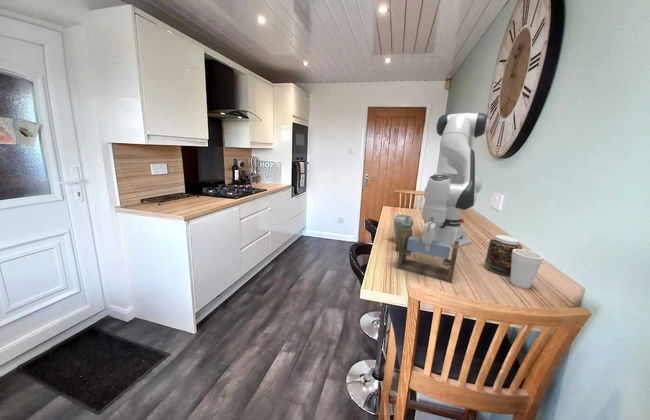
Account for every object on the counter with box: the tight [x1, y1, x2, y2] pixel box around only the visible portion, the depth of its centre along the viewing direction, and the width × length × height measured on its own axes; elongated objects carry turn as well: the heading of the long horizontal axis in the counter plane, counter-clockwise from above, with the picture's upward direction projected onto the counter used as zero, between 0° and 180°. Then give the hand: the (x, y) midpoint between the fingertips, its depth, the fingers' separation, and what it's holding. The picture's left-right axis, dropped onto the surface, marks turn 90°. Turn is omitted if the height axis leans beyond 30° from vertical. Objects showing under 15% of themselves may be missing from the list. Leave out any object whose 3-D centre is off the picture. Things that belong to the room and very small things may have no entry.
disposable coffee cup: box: [393, 214, 415, 242], centre depth 137 cm, size 11×11×15 cm
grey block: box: [407, 235, 452, 260], centre depth 104 cm, size 16×4×5 cm, turn 60°
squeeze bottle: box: [395, 215, 413, 252], centre depth 125 cm, size 8×8×18 cm
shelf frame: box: [396, 231, 459, 284], centre depth 105 cm, size 21×10×14 cm, turn 60°
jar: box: [483, 234, 523, 277], centre depth 109 cm, size 12×12×15 cm
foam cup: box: [509, 248, 545, 289], centre depth 98 cm, size 10×9×13 cm
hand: (428, 247), depth 104 cm, fingers closed on grey block, 4 cm apart
